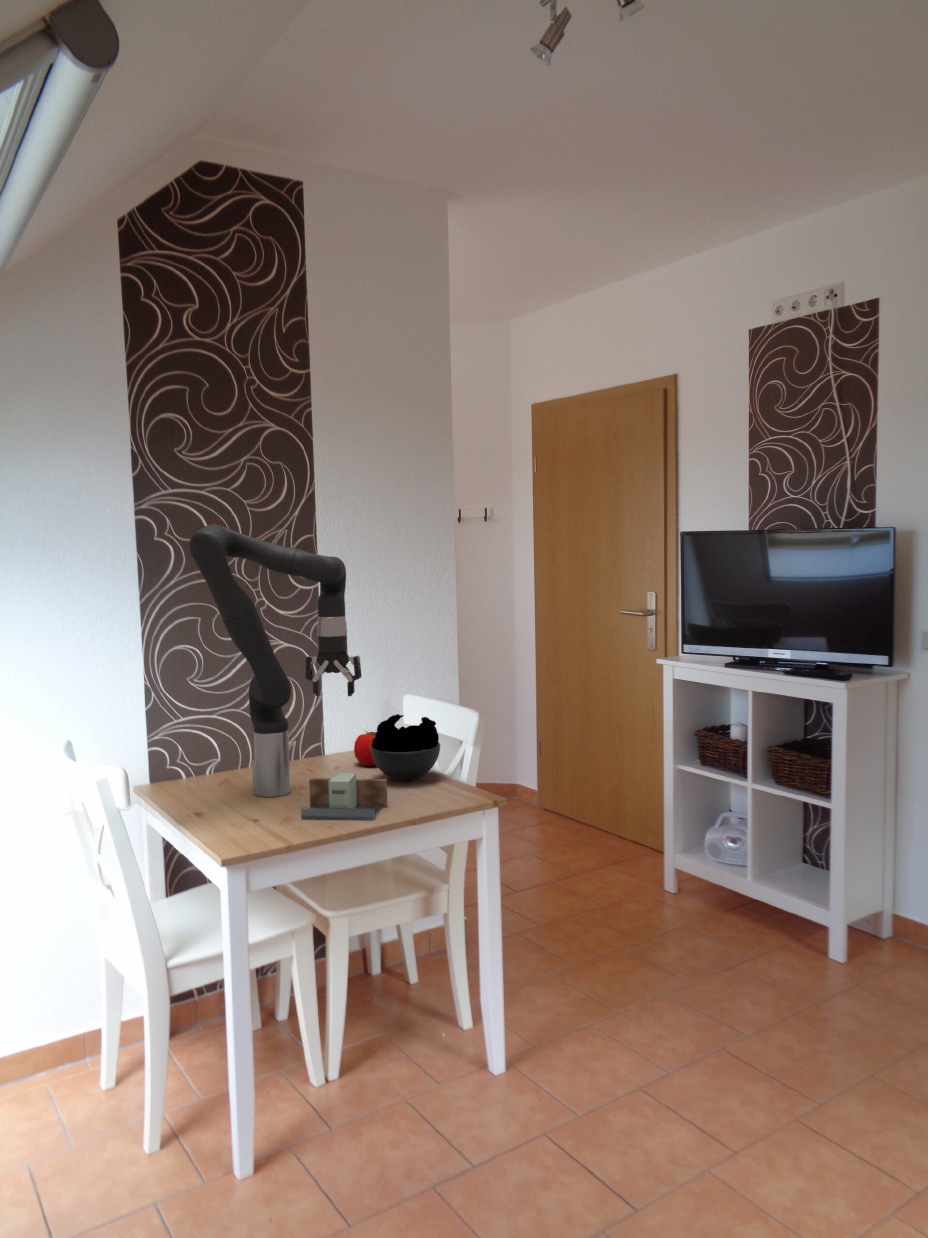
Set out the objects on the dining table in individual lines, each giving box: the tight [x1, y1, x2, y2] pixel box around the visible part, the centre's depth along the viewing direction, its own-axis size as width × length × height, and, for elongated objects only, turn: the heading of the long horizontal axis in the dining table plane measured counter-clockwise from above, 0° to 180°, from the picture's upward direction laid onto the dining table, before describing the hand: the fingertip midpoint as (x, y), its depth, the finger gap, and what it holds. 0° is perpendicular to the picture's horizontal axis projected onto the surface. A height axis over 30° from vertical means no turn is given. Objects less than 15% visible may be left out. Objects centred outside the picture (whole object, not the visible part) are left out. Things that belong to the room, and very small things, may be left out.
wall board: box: [308, 777, 388, 809], centre depth 233 cm, size 20×2×7 cm, turn 83°
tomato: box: [353, 730, 377, 767], centre depth 279 cm, size 12×12×10 cm
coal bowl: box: [370, 713, 441, 782], centre depth 259 cm, size 20×20×19 cm
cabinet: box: [329, 773, 357, 808], centre depth 227 cm, size 5×9×8 cm, turn 173°
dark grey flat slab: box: [300, 804, 383, 821], centre depth 227 cm, size 18×11×2 cm, turn 83°
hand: (334, 695), depth 235 cm, fingers open, 8 cm apart
